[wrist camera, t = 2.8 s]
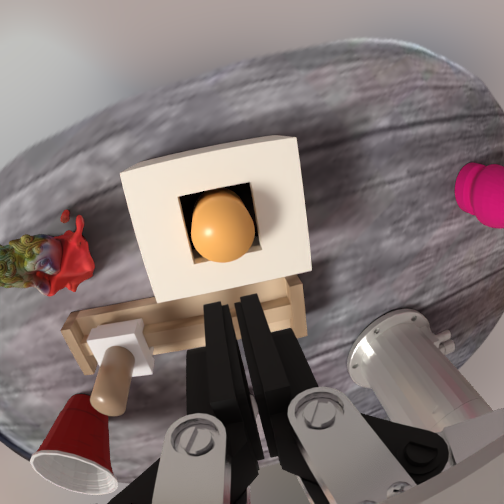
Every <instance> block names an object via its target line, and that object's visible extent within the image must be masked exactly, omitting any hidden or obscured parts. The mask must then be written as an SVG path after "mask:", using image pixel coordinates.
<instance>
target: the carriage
mask: <svg viewBox="0 0 504 504" xmlns="http://www.w3.org/2000/svg"><path fill="white" fill-rule="evenodd" d="M143 329H144V323H143V320H142V318H140V319H134V320H128V321H123V322H117V323H111V324H105V325H99V326H97V328H93V329H91V332H90V334H89V336H88V338H87V343H88V345H89V347H90V349H91V351H92V353H93V355H94V357H95V358H96V360H97V362H98V364H99V366H100V369H99V372H98V375H97V378H96V381H95V384H94V388H93V391H92V394H91V397H90V402H91V404H92V406H93V407H94V408H95V409H96V410H97V411H99V412H100V413H102V414H105V415H108V416H119V415H122V414H123V413H124V412H125V410H126V404H127V399H128V394H129V388H130V383H131V378H132V377H135V376H143V375H150V374H153V368H154V359H153V350H154V347H153V346H152V347H148V345H147V343H146V340H145V338H144V335H143Z"/></svg>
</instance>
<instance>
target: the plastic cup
mask: <svg viewBox="0 0 504 504" xmlns="http://www.w3.org/2000/svg"><path fill="white" fill-rule="evenodd" d="M90 397H91V396H89V395H85V394H76V395H74V396H72V397H71V398H70V399H69V400H68V402H67V404H66V405H65V407H64V409H63V410H62V411H61V412H60V414H59V416H58V417H57V419H56V421H55V422H54V424H53V426H52V428H51V430H50V431H49V433H48V435H47V437H46V438H45V439H44V441H43V443H42V445H40V448H39V449H38V450H37V452H35V453H33V455H32V457H31V460H30V463H31V465H32V467H33V469H34V470H35V471H36V472H37V473H38V474H39V475H40V476H42V477H43V478H44V479H46V480H48V481H49V482H51V483H53V484H55V485H57V486H59V487H62V488H65V489H68V490H70V491H74V492H78V493H83V494H93V495H103V494H107V493H112V492H113V491H114V490H116V489H117V488H118V483H117V478H116V477H115V476H114V474H113V472H112V467H111V462H110V448H109V429H108V415H105V414H102V413H100V412H99V411H97V410H96V409H95V408H94V407H93V406H92V404H91V402H90Z"/></svg>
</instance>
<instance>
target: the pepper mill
mask: <svg viewBox="0 0 504 504" xmlns="http://www.w3.org/2000/svg"><path fill="white" fill-rule="evenodd" d="M455 197H456V201H457V203H458V205H459V207H460V208H461V209H462V210H463V211H465V212H467V213H470V214H472V215H476V217H477V219H478V220H479V221H480V222H481V223H482V224H484V225H486V226H489V227H492V228H504V167H503V166H501V165H498V164H491V165H488V166H485V165H482V164H478V163H468V164H466V165H465V166H464V167H463V168H462V169H461V171H460V172H459V174H458V176H457V179H456V183H455Z"/></svg>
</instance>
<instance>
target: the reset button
mask: <svg viewBox="0 0 504 504" xmlns="http://www.w3.org/2000/svg"><path fill="white" fill-rule="evenodd" d="M254 236H255V228H254V223H253V220H252V218H251V216H250V215H249V213H248V211H247V209H246V207H245V205H244V204H243V202H242V200H241V198H240V197H239V196H238V195H237V194H236V193H235V192H233V191H231V190H229V189H226V188H216V189H211V190H207V191H206V192H204V193H203V194H201V195H200V196H199V198H198V199H197V201H196V203H195V205H194V209H193V218H192V229H191V237H192V242H193V244H194V246H195V248H196V250H197V251H198V252H199V253H200V254H201V255H202V256H203V257H205V258H206V259H208V260H210V261H213V262H219V263H226V262H231V261H234V260H237V259H238V258H240V257H242V256H243V255H244V254H245V253H246V252H247V251H248V250H249V248H250V247H251V245H252V243H253V240H254Z"/></svg>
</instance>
